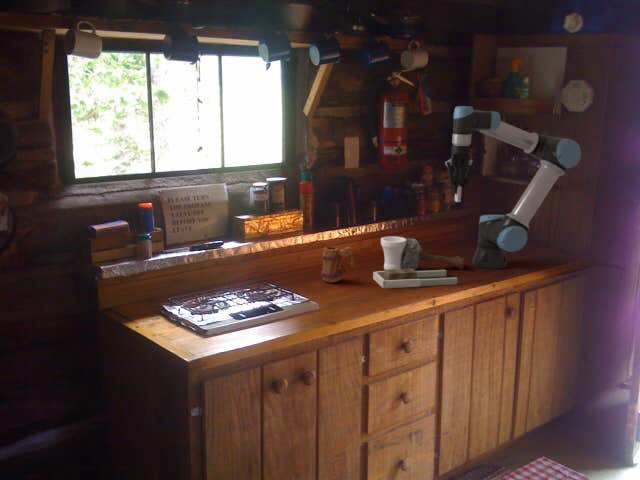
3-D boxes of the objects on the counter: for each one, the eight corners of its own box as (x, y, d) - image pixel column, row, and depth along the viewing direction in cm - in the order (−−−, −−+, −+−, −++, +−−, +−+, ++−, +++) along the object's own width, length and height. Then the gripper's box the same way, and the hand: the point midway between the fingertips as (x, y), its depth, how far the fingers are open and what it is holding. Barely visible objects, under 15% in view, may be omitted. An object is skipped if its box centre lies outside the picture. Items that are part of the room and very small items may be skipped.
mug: (317, 282, 286) (317, 246, 282) (323, 277, 293) (324, 242, 290) (351, 286, 281) (352, 250, 277) (357, 281, 288) (358, 246, 285)
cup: (377, 267, 309) (378, 236, 306) (401, 267, 310) (403, 236, 307) (383, 274, 298) (384, 242, 295) (408, 274, 300) (409, 242, 296)
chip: (411, 279, 292) (412, 268, 291) (416, 284, 286) (417, 272, 285) (397, 280, 291) (398, 269, 290) (402, 284, 285) (403, 273, 284)
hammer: (465, 277, 306) (403, 271, 297) (454, 276, 315) (393, 270, 306) (469, 244, 306) (406, 237, 297) (457, 243, 316) (397, 236, 307)
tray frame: (407, 276, 296) (408, 270, 295) (419, 286, 283) (420, 279, 282) (373, 278, 292) (373, 271, 292) (383, 288, 279) (383, 281, 278)
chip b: (397, 280, 291) (398, 269, 289) (402, 284, 285) (403, 273, 284) (384, 281, 289) (384, 269, 288) (388, 285, 284) (388, 273, 282)
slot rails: (444, 275, 299) (445, 269, 298) (457, 284, 287) (457, 278, 286) (409, 277, 295) (409, 271, 295) (420, 286, 283) (420, 280, 283)
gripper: (472, 143, 290) (468, 199, 296) (442, 143, 287) (439, 200, 293) (480, 145, 283) (475, 202, 289) (450, 145, 280) (446, 203, 286)
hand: (457, 201), depth 291 cm, fingers closed
